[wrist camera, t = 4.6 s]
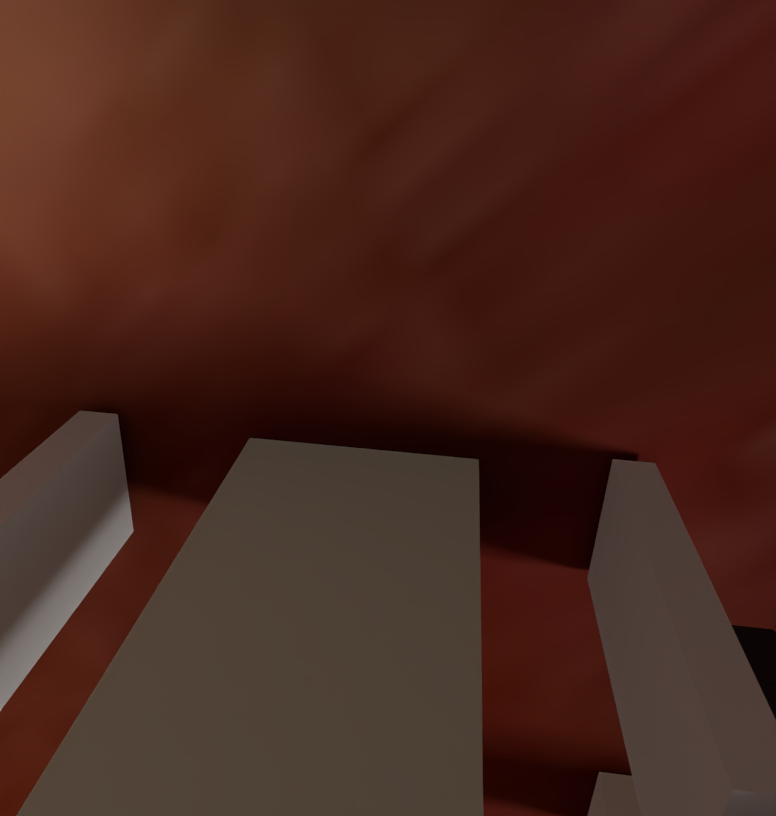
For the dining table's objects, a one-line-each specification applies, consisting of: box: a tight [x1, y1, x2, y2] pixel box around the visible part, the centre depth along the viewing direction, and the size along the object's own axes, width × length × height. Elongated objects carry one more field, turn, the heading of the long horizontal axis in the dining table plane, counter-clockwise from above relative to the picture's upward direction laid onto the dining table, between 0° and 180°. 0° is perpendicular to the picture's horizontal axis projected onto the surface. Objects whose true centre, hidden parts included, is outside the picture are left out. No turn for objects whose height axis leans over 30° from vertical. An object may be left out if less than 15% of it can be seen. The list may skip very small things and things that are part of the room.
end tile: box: [17, 438, 483, 816], centre depth 9 cm, size 2×4×10 cm, turn 87°
